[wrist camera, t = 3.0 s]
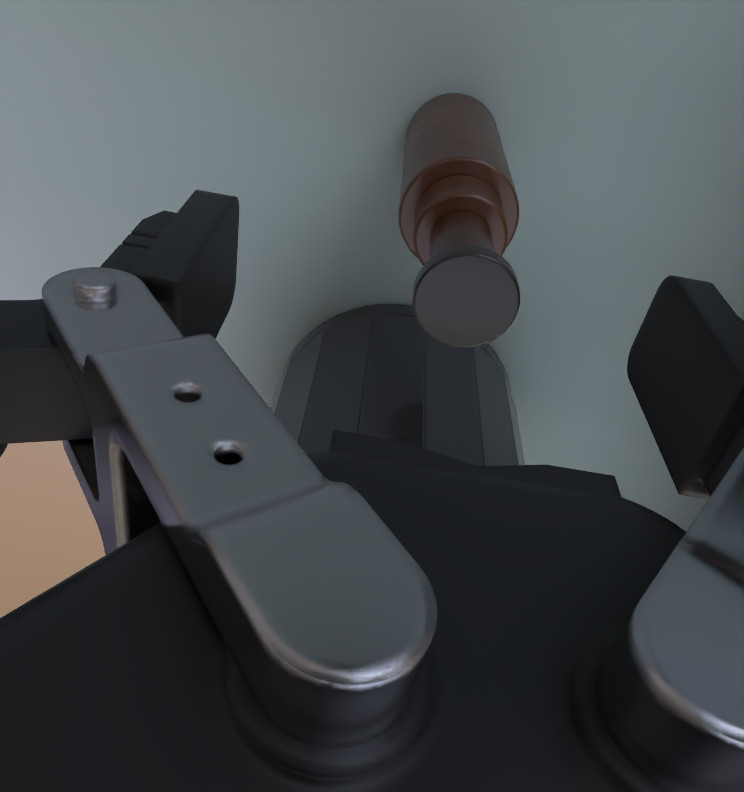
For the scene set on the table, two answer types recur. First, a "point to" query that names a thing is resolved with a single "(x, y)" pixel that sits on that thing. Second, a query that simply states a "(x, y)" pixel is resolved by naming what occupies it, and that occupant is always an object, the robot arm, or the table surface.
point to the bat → (459, 222)
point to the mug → (398, 389)
